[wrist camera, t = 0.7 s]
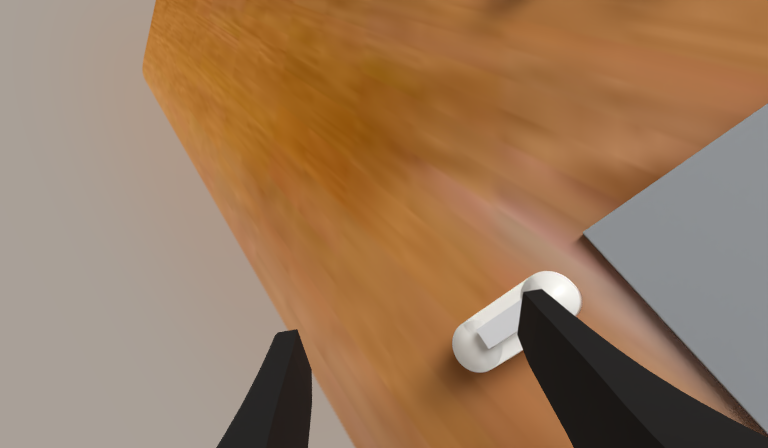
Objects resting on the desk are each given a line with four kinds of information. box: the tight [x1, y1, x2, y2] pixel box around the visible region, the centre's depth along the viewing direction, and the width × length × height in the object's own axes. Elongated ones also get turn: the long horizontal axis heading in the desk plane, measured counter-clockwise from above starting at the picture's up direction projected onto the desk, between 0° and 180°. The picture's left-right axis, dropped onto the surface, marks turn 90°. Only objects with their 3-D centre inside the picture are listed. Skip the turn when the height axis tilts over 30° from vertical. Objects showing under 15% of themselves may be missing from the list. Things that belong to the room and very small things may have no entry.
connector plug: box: [452, 271, 582, 373], centre depth 23 cm, size 3×8×6 cm, turn 124°
